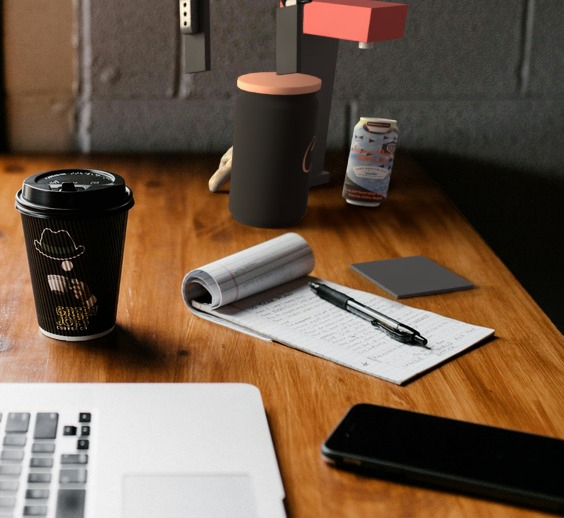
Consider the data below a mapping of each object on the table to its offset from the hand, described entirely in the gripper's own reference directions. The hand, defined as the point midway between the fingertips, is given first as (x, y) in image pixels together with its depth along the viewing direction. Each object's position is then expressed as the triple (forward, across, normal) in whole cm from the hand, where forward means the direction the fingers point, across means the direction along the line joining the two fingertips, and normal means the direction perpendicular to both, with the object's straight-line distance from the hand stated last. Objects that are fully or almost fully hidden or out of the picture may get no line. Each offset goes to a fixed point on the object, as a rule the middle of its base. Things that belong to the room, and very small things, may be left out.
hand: (245, 73), depth 87 cm
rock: (+12, -34, -34) cm, 50 cm away
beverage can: (+16, -39, -12) cm, 44 cm away
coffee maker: (+14, -39, -20) cm, 46 cm away
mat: (+23, -20, +7) cm, 31 cm away
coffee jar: (+17, -24, -17) cm, 34 cm away
